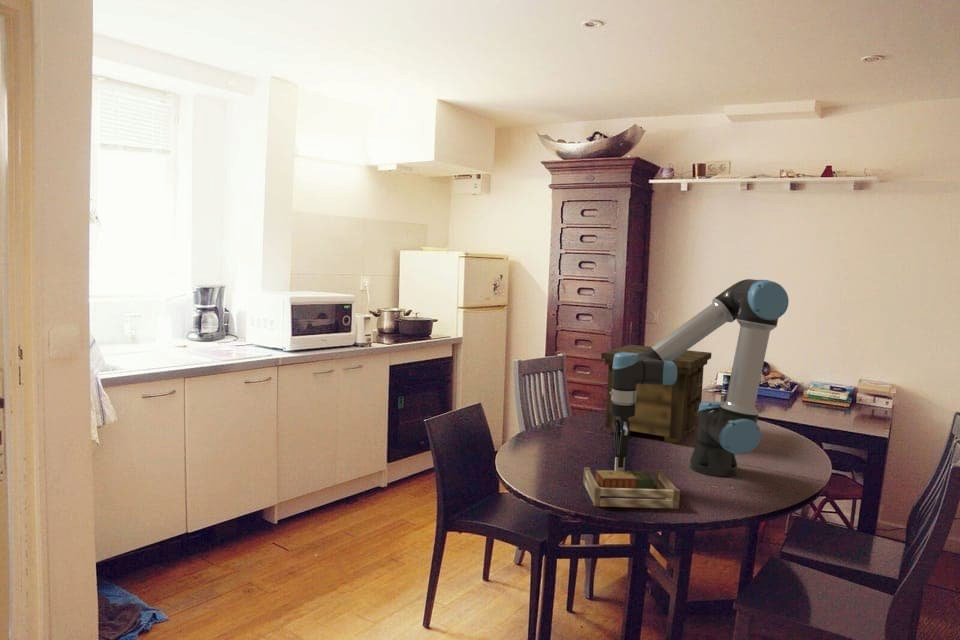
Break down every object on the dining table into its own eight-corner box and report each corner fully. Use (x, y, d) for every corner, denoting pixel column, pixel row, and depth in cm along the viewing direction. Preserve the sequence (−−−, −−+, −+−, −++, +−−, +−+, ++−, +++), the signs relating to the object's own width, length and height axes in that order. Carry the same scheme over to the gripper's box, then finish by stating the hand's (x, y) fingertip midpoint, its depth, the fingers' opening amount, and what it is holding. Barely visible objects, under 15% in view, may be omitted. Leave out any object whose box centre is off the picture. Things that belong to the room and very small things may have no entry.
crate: (626, 416, 286) (629, 344, 283) (706, 429, 268) (711, 352, 265) (597, 433, 257) (601, 352, 254) (685, 448, 238) (691, 362, 235)
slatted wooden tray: (660, 486, 196) (661, 469, 196) (678, 508, 178) (680, 490, 178) (583, 483, 196) (584, 467, 196) (594, 506, 178) (595, 488, 177)
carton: (594, 482, 198) (595, 469, 198) (644, 482, 200) (645, 469, 200) (602, 492, 190) (603, 478, 190) (654, 492, 192) (655, 478, 191)
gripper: (607, 397, 204) (603, 469, 206) (615, 406, 191) (611, 483, 193) (630, 398, 204) (626, 470, 206) (640, 407, 191) (635, 484, 193)
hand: (619, 476), depth 200 cm, fingers closed
